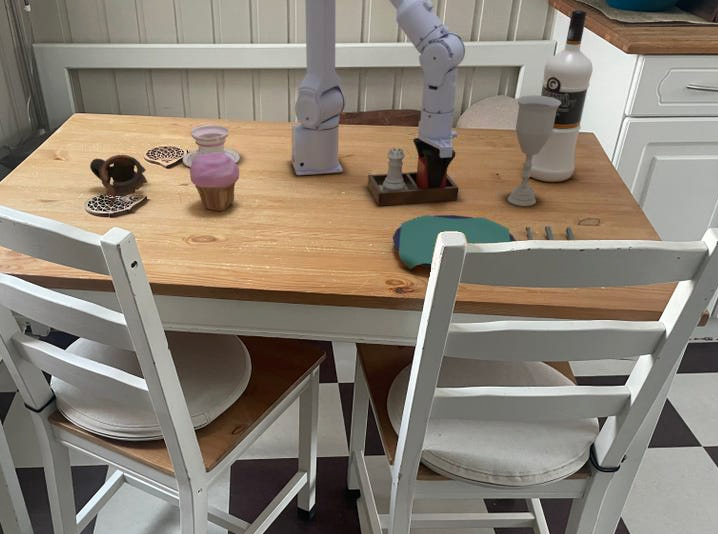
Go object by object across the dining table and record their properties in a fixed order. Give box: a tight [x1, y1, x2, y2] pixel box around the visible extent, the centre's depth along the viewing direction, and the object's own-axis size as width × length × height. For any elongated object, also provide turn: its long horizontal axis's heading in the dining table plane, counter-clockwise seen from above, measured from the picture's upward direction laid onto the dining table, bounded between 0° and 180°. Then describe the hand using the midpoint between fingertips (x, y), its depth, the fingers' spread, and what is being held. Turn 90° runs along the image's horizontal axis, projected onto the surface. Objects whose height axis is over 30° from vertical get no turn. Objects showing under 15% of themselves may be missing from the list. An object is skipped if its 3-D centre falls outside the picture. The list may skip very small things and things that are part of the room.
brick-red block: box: [416, 156, 448, 189], centre depth 136 cm, size 4×4×6 cm
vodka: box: [530, 9, 593, 183], centre depth 136 cm, size 9×9×30 cm
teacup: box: [182, 124, 240, 168], centre depth 151 cm, size 12×12×6 cm
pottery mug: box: [89, 154, 148, 203], centre depth 138 cm, size 12×10×8 cm
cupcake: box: [189, 152, 240, 212], centre depth 131 cm, size 9×9×10 cm
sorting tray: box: [367, 171, 459, 207], centre depth 137 cm, size 15×9×2 cm, turn 98°
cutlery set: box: [392, 214, 575, 270], centre depth 117 cm, size 20×30×2 cm, turn 82°
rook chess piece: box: [382, 147, 406, 192], centre depth 135 cm, size 4×4×8 cm
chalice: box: [507, 94, 561, 207], centre depth 129 cm, size 7×7×18 cm
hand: (430, 181), depth 137 cm, fingers closed on brick-red block, 4 cm apart
